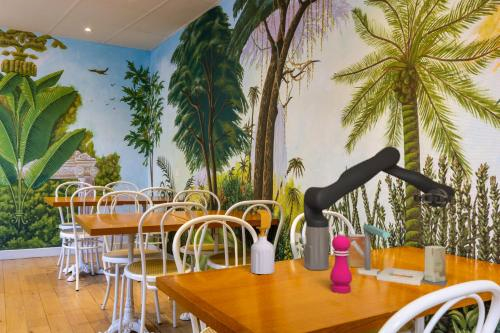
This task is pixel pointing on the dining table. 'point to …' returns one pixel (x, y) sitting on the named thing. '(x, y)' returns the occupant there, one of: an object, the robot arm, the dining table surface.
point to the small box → (356, 250)
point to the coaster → (436, 282)
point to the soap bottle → (262, 248)
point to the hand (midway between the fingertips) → (429, 199)
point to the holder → (388, 269)
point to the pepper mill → (341, 265)
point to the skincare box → (435, 263)
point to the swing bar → (376, 231)
